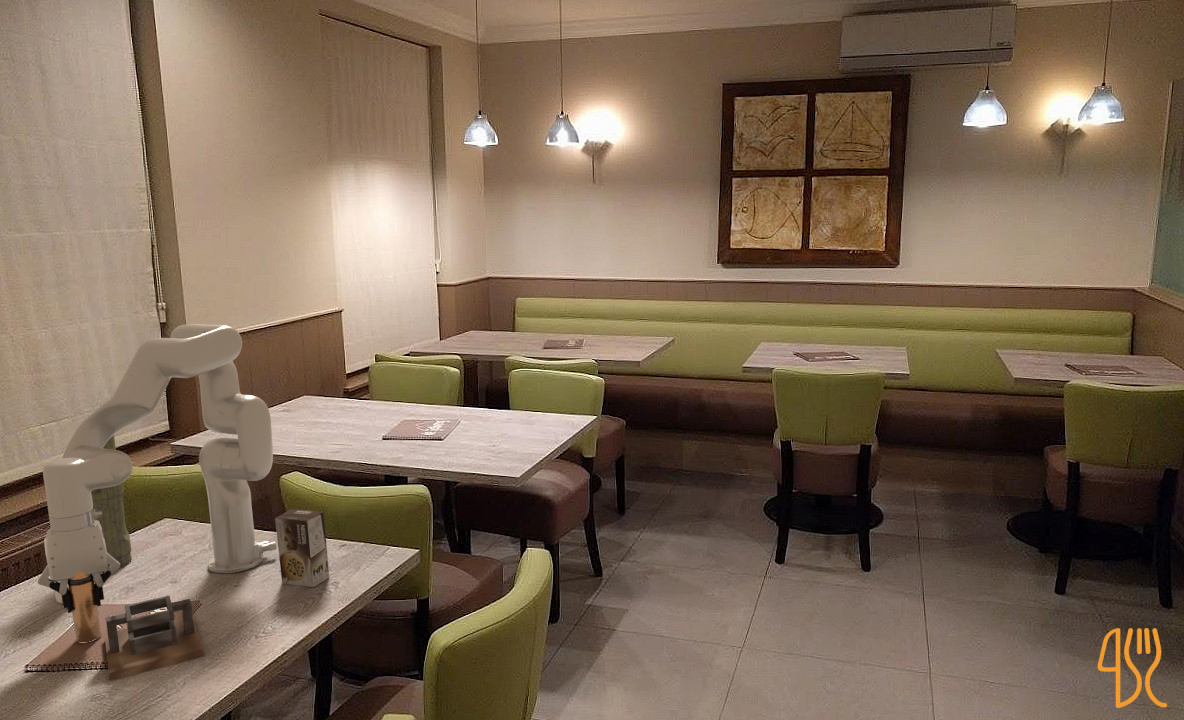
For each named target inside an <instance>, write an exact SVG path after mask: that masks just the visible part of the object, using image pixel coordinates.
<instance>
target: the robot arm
mask: <svg viewBox="0 0 1184 720" xmlns="http://www.w3.org/2000/svg"><path fill="white" fill-rule="evenodd" d="M242 348H243V339H242V336H241V334H240V333H239V331H238V330H237V329H236V328H234V327H232V326H230V325H229V326H228V325H227V324H226V325H224V324H203V323H189V324H181V325H179V326H177V327H175V328H174V329H173V330H172V331H171V334H170V337H168V338H167V337H154V338H149V339H147V340H145V341H143V342H142V343H141V344H140V345H139V347H138V348H137V350H136V352H135V354H134V356H133V358H132V359H131V361H130V364H129V365H128V366H127V367H128V368H127V369H126V371H125V373H124V374H123V376H122V378H121V380H120V382H119V384H118V385H117V388H116V390H115V391H114V393H113V395H112V396H111V397H110V398H109V399H108V400H107V401H105V402H104V403H103V404H101V405H100V406H99V407H98V408H97V409H95V410H94V411H93V412H92V413H90V415H88V416H87V417H86V418H85V420H83V421H82V422H81V423H80V424H79V426H78V427H77V428H76V430H75V432H74V433H73V435H72V437H71V439H70V441H69V443H68V444H67V446H66V447H65V450H64V452H63V455H62V457H61V458H59V459H54V460H52V461H50V462H47V463H46V464H45V465H44V467H43V469H42V475H43V483H44V489H45V497H46V503H47V504H46V505H47V510H48V511H47V512H48V519H49V525H50V528H49V529H47V531H46V537H47V538H46V537H45V538H46V547H47V558H46V561H47V560H48V563H47V565H46V566H45V568H44V570H43V571H42V572H41V574H40V576H39V577H38V580H37V584H38V585H40V586H44V587H46V588H50V589H51V590H53V591H54V590H55V591H57V592H58V593H59V594H60V595H62V602H63V604H62V607H63V609H67V613H68V614H71V613H72V605H71V598H70V592H69V589H68V587H67V583H68V579H71V578H73V577H75V575H76V573H77V572H78V571H81V572H83V573H84V574H85V575H91V574H92V575H93V577H94V585H95V587H94V589H95V596H96V603H97V607H101V606H102V603H101V602H102V601H104V600H105V595H104V589H103V586H104V584H105V582H107V581H108V579H109V578H110V577H111V576H112V574H114V573H115V572H116V571H117V570H118V569H119V567H120V563H119V562H118V561H117V560H116V559H114V558H113V557H112V556H111V555H110V554H108V553H107V550H106V544H105V539H104V535H103V531H102V528H101V525H100V523H99V521H97V520H96V518H98V517H101V516H102V510H95V509H93V503H92V496H91V491H92V490H96V489H101V488H108V487H113V486H116V485H119V484H121V483H123V484H124V482H125V481H126V480H128V479H129V478H130V476H131V475H132V472H133V469H134V466H133V465H134V464H133V460H132V458H131V457H130V456H129V455H128V454H127V453H125V452H123V451H120V450H117V449H116V450H112V449H105V448H103V447H104V446H105V444H106V443H107V441H108V440H109V439H110V438H111V437H112V436H113V435H114V436H115V434H116V433H118V432H119V431H121V430H122V429H124V428H126V427H127V426H130V425H132V424H134V423H137V422H139V421H142V420H144V419H146V418H148V417H149V416H151V415H152V414H154V412H155V411H156V409H157V407H158V405H159V402H160V401H161V399H162V396H163V395H164V392H165V391H166V389H167V388H168V387H167V386H168V385H169V383H170V381H171V379H172V378H178V379H179V378H181V379H182V378H183V379H188V378H193V377H198V380H199V386H200V401H201V411H202V421H203V425H204V427H205V428H206V429H208V430H209V431H210V432H212V433H213V432H214V433H217V434H218V433H219V434H226V435H235V436H236V435H237V438H236V437H235V438H234V437H226V436H225V437H224V436H223V437H221V436H220V437H215V438H213V439H210V440H208V441H207V442H205V443H204V445H203V446H202V448H201V449H200V452H199V456H198V461H199V467H200V471H201V473H202V477H203V479H204V482H205V488H206V493H207V500H208V510H209V511H208V512H209V518H210V529H211V531H210V532H211V538H212V540H211V541H212V548H213V557H212V558H211V559H209V561H207V568H208V570H209V571H211V572H213V573H215V574H216V573H217V574H232V573H233V574H234V573H238V572H243V571H246V570H249V569H252V568H255V567H257V566H258V565H259V564H262V562H263V561H264V552H270V551H275V550H277V543H276V541H273V542H269V541H268V540H266V541H262V542H258V541H257V540H256V537H255V526H254V518H253V509H252V508H253V507H252V494H251V489H250V486H249V483H248V481H252V482H253V481H255V482H257V481H260V480H262V479H264V478H266V476H268V474H269V473H270V471H271V469H272V467H273V460H274V457H273V456H274V451H273V450H274V449H273V433H272V419H271V418H272V417H271V414H270V413H271V412H270V409H269V407H268V405H267V404H266V402H265V400H263V399H262V398H260V397H258V396H255V395H251V394H242V393H241V390H240V383H239V382H240V381H239V374H238V373H239V372H238V370H237V367H236V364H235V363H234V360H235V359H237V358H238V356H239V355H240V354H241V352H242ZM108 564H109V565H110V566H109V567H108ZM107 567H108V568H107ZM120 568H121V567H120ZM57 581H60V583H59V582H57ZM55 591H54V592H55Z"/></svg>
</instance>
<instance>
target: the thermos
mask: <svg viewBox="0 0 1184 720" xmlns="http://www.w3.org/2000/svg"><path fill="white" fill-rule="evenodd" d="M116 447H117V446H116V440H115V434H114V435H113V436H112V437H111V438H110V439H109V440H108V441H107V443H106V444H105V446H104V447H103V448H105V449H112V450H117V449H116ZM124 489H125V488H124V482H123V483H121V484H119V485H116V486H113V487H108V488H101V489H96V490H92V491H91V496H92V503H93V509H95V510H102V516H101V517H98V518H96V520H97V521H99V523H100V525H101V528H102V531H103V535H104V539H105V544H106V550H107V553H108V554H110V555H111V556H112V557H113V558H114V559H116V560H117V561H118V562H119V563H120V568H122V566H123V567H125V566H127V565H129V564H130V563H132V561H131V560H133V559H132V558H133V557H132V553H131V552H132V544H131V543H132V542H131V536H130V533H129V530H128V529H127V525H126V516H125V508H124V500H123V495H124V493H125V490H124ZM129 562H130V563H129ZM128 563H129V564H128ZM126 564H127V565H126ZM124 565H125V566H124ZM109 566H110V565H109V564H108V567H109ZM108 567H107V568H108Z"/></svg>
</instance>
